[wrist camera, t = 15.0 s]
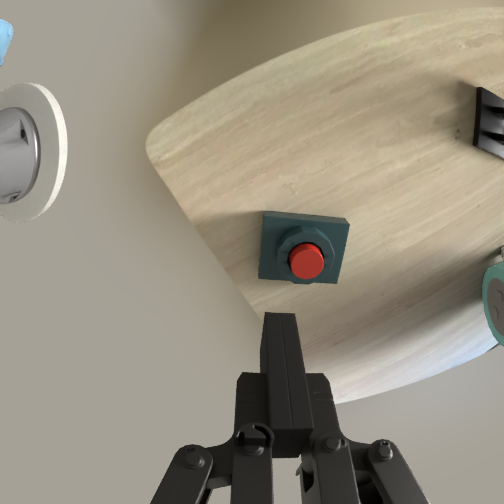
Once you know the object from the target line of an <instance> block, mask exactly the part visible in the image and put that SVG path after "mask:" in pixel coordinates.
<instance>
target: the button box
mask: <svg viewBox="0 0 504 504" xmlns="http://www.w3.org/2000/svg"><path fill="white" fill-rule="evenodd" d="M349 226H350V224H349V223H348V222H347V220H346V219H345V218H336V217H327V216H317V215H307V214H297V213H286V212H274V211H264V214H263V225H262V236H261V247H260V258H259V268H258V279H269V280H284V281H291V282H293V283H295V284H311V283H313V282H315V283H332V284H337V281H338V277H339V273H340V269H341V264H342V260H343V255H344V251H345V246H346V241H347V236H348V232H349ZM303 243H309V244H313V245H315V246H316V247H317V248H318V249H319V251H320V253H321V255H322V257H323V260H324V266H323V269H322V271H321V272H320V273H319V274H318V275H317V276H316V277H314V278H311V279H302V278H299V277H297V276H296V275H295V274H294V273H293V272H292V269H291V265H290V254H291V252H292V250H293V249H294V248H295V247H296V246H298V245H300V244H303Z"/></svg>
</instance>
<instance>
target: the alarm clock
mask: <svg viewBox="0 0 504 504" xmlns="http://www.w3.org/2000/svg"><path fill="white" fill-rule="evenodd" d="M501 255H502V257H503V260H504V246H503V247H502V248H501ZM482 298H483V304H484V311H485V315H486V318H487V321H488V325H489V327H490V329H491V331H492V334H493V336H494V337H495V339H496V340H497V341H498V342H499V344H500V345H502V346H504V261H502V262H500V263H498V264H495V265H493V266H490V267H489V268H488V270H487V271H486V272H485V274H484V279H483V283H482Z"/></svg>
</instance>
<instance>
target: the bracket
mask: <svg viewBox="0 0 504 504" xmlns="http://www.w3.org/2000/svg"><path fill="white" fill-rule="evenodd" d="M473 146H475V147H477V148H480V149H482V150H484V151H487V152H489V153H491V154H493V155H496V156H498V157H500V158H502V159H504V100H503V99H501V98H500V97H498V96H496V95H495V94H493V93H491V92H490V91H488V90H486V89H484V88H483V87H477V102H476V118H475V130H474V139H473Z"/></svg>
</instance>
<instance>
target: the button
mask: <svg viewBox="0 0 504 504" xmlns="http://www.w3.org/2000/svg"><path fill="white" fill-rule="evenodd" d="M290 265H291V269H292V272H293V273H294V274H295V275H296V276H297V277H299V278H302V279H311V278H314V277H316V276H317V275H318V274H319V273H320V272H321V271H322V269H323V266H324V260H323V257H322V255H321V253H320V251H319V249H318V248H317V247H316V246H315V245H313V244H309V243H303V244H300V245H298V246H296V247H295V248H294V249H293V250H292V252H291V254H290Z"/></svg>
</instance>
